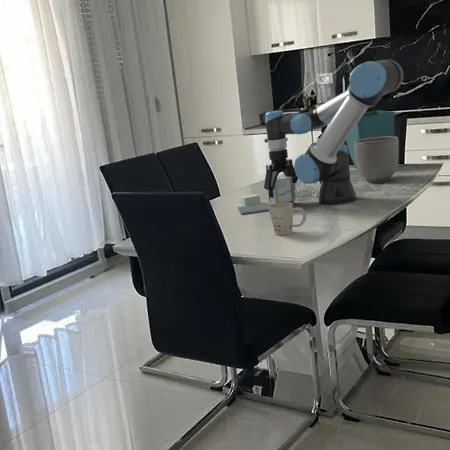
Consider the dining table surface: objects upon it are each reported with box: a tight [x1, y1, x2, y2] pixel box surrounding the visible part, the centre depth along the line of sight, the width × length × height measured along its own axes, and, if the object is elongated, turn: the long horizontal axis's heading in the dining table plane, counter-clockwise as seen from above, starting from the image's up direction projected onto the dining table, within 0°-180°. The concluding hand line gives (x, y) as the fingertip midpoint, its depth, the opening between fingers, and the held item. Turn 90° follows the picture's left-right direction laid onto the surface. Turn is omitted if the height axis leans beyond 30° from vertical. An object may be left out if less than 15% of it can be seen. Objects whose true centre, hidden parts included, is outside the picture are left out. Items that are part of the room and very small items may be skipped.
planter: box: [354, 135, 399, 184], centre depth 286 cm, size 20×20×19 cm
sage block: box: [240, 193, 261, 207], centre depth 271 cm, size 4×7×4 cm, turn 111°
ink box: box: [274, 176, 295, 206], centre depth 259 cm, size 9×9×12 cm
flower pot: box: [345, 110, 395, 170], centre depth 319 cm, size 20×20×28 cm
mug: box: [268, 202, 307, 236], centre depth 216 cm, size 8×13×10 cm, turn 95°
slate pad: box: [237, 202, 270, 216], centre depth 260 cm, size 13×13×1 cm
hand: (283, 201), depth 260 cm, fingers closed on ink box, 11 cm apart
